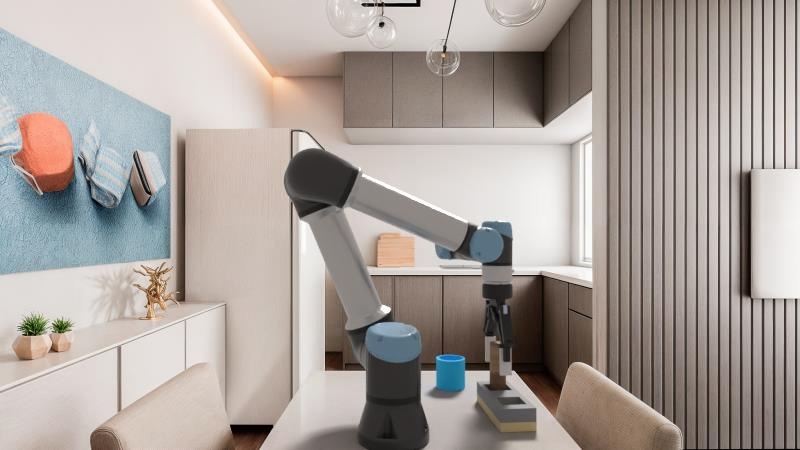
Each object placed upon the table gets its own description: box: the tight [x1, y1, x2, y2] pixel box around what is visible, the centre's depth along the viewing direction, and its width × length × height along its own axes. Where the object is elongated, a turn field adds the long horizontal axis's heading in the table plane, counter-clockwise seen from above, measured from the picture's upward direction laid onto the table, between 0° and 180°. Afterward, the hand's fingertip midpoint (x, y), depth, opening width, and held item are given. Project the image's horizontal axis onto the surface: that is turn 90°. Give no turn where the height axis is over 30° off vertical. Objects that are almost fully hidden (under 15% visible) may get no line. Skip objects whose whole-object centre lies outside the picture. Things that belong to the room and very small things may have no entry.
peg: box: [489, 340, 507, 391], centre depth 132 cm, size 4×4×14 cm
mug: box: [435, 354, 466, 392], centre depth 152 cm, size 12×8×8 cm
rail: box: [476, 380, 538, 433], centre depth 126 cm, size 22×8×5 cm, turn 5°
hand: (497, 368), depth 132 cm, fingers open, 13 cm apart
